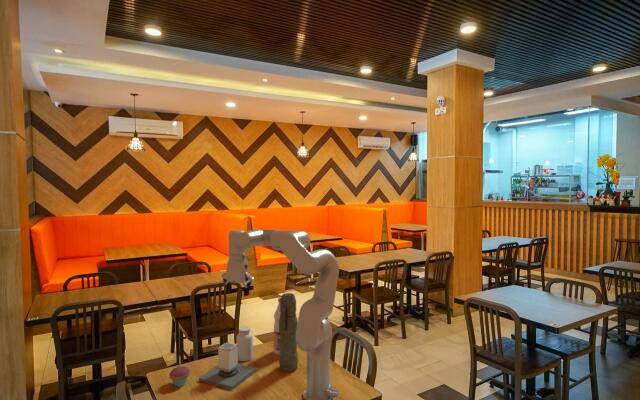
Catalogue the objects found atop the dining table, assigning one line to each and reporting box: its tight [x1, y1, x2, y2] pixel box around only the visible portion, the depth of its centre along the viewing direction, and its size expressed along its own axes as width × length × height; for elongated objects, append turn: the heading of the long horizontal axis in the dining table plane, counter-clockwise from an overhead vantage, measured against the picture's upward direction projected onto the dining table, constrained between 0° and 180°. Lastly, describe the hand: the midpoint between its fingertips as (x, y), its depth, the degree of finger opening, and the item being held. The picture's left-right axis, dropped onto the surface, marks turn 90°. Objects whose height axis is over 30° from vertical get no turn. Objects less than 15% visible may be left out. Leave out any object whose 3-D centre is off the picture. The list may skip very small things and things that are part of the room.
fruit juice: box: [273, 297, 281, 356], centre depth 200 cm, size 9×9×28 cm
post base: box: [198, 363, 257, 391], centre depth 176 cm, size 18×18×12 cm
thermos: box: [278, 292, 299, 373], centre depth 183 cm, size 9×12×35 cm
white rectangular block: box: [217, 341, 239, 372], centre depth 176 cm, size 6×6×10 cm
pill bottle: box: [235, 326, 254, 362], centre depth 194 cm, size 8×8×15 cm
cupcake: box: [169, 354, 191, 387], centre depth 169 cm, size 9×8×12 cm
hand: (237, 294), depth 178 cm, fingers open, 9 cm apart
